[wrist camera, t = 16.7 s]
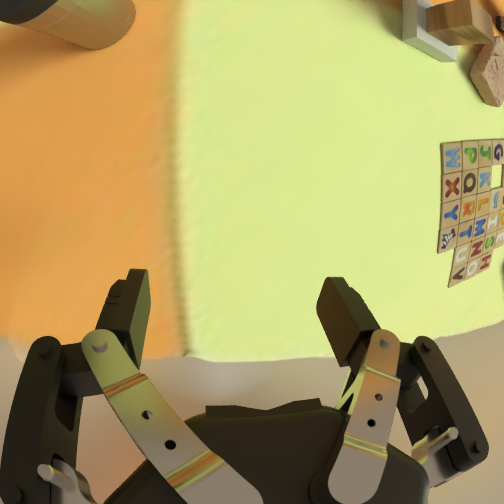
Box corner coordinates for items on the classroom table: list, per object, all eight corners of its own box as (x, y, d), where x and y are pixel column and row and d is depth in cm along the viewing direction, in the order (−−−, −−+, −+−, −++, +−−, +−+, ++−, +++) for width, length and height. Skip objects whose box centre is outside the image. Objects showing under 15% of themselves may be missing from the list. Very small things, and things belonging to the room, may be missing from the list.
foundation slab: (401, 40, 28) (416, 37, 24) (402, -1, 24) (416, -7, 20) (441, 62, 29) (457, 61, 26) (441, 22, 25) (456, 19, 21)
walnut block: (426, 32, 24) (472, 24, 15) (426, 8, 21) (469, -3, 13) (449, 46, 24) (494, 43, 16) (448, 22, 22) (491, 16, 13)
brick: (486, 33, 25) (501, 33, 20) (504, 64, 27) (519, 65, 23) (464, 74, 30) (482, 74, 26) (484, 106, 33) (501, 109, 29)
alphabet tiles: (438, 142, 37) (442, 143, 36) (511, 137, 36) (515, 139, 35) (429, 294, 52) (431, 297, 51) (497, 260, 52) (500, 262, 51)
